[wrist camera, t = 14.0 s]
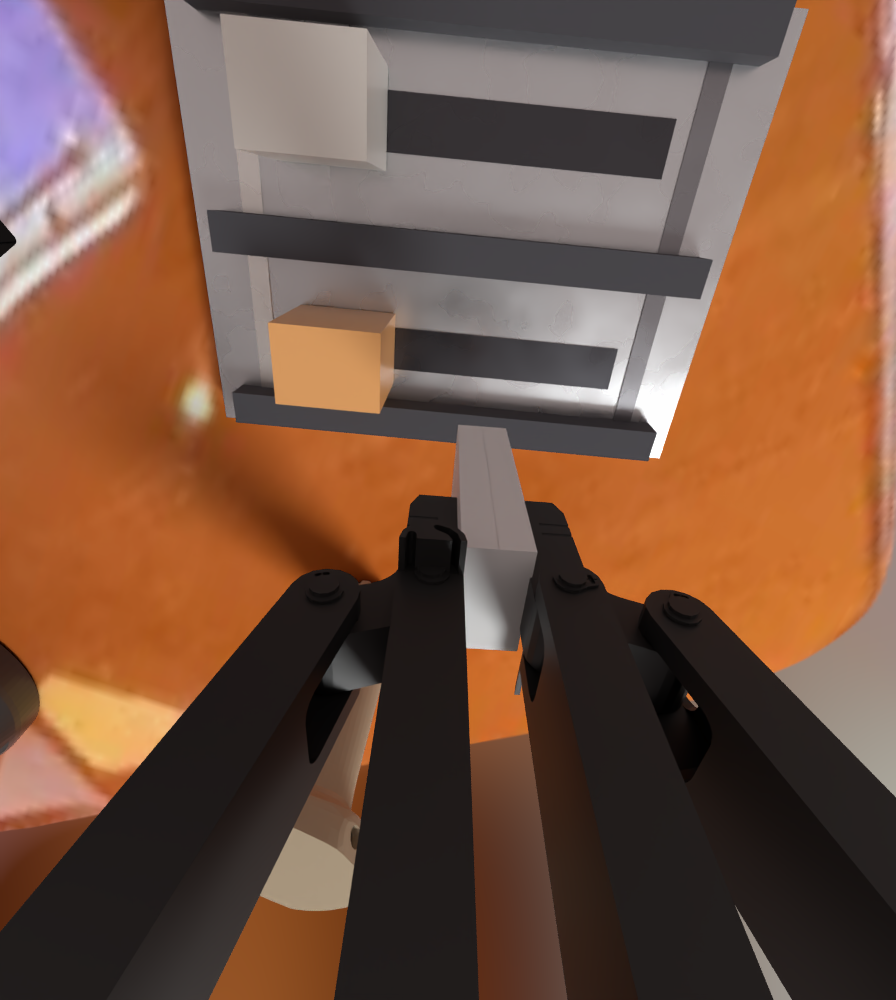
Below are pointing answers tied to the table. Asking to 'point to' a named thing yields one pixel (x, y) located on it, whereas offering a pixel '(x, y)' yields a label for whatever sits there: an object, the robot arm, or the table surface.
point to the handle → (326, 824)
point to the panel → (496, 212)
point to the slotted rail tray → (519, 18)
